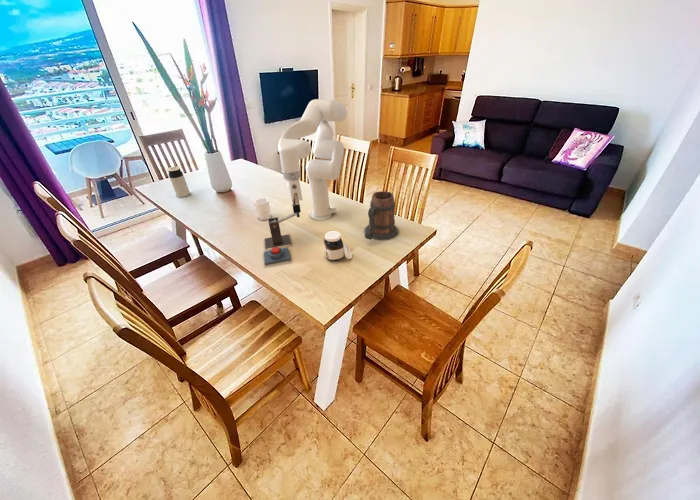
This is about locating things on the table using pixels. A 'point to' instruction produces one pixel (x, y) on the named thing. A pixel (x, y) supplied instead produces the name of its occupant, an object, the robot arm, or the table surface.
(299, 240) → the table surface
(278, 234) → the bracket
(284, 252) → the button box
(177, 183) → the travel mug
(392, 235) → the tankard
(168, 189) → the table surface
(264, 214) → the white cup
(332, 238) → the spread jar
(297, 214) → the tap lever
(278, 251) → the red push button
